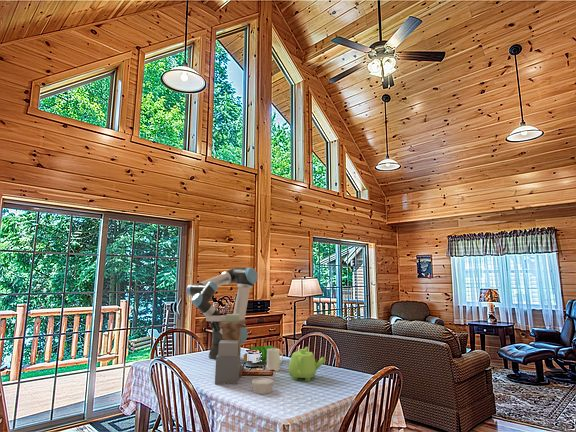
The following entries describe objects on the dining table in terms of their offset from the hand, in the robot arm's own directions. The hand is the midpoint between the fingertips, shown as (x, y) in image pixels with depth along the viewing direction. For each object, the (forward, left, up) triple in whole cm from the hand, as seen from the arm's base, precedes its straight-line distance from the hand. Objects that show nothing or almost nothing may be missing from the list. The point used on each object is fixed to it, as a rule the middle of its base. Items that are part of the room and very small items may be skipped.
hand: (232, 334), depth 249 cm
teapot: (+13, +55, -19) cm, 59 cm away
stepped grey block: (+36, +15, -19) cm, 44 cm away
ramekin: (+47, +40, -20) cm, 64 cm away
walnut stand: (+20, +9, -19) cm, 29 cm away
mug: (+1, +31, -19) cm, 36 cm away
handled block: (+22, +3, +11) cm, 24 cm away
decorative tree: (-15, +17, -19) cm, 30 cm away
